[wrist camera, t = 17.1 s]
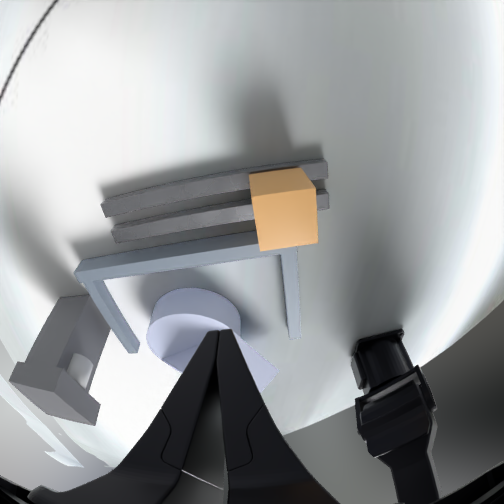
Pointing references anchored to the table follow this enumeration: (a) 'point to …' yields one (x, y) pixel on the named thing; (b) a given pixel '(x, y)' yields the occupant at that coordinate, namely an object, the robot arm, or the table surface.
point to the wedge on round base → (199, 330)
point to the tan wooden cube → (284, 208)
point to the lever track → (194, 190)
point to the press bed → (122, 319)
